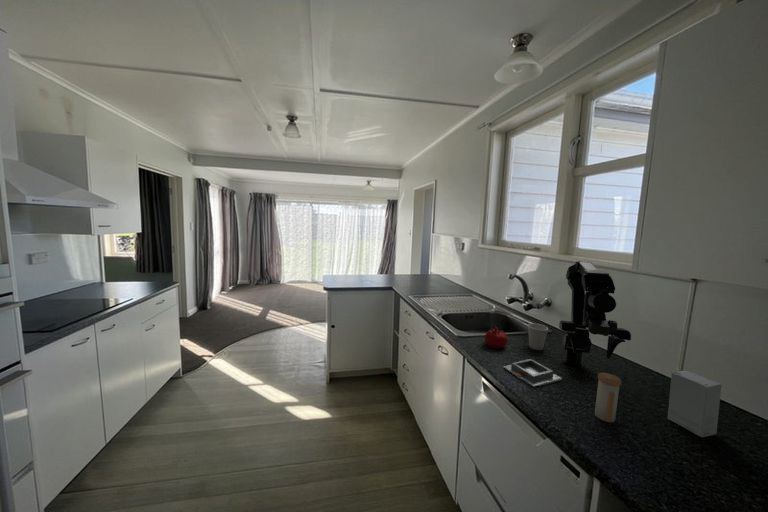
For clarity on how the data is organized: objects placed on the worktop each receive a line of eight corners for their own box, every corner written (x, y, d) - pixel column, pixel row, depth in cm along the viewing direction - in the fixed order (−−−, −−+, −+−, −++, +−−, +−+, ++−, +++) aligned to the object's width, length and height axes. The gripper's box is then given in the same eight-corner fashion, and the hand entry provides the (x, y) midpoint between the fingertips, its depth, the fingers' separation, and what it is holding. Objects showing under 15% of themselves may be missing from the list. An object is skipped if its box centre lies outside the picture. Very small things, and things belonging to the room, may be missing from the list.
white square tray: (529, 362, 117) (530, 355, 117) (561, 380, 104) (562, 373, 104) (503, 368, 112) (503, 361, 111) (533, 387, 99) (534, 380, 99)
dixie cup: (550, 350, 128) (552, 329, 127) (535, 352, 126) (537, 330, 125) (536, 342, 136) (538, 322, 135) (522, 344, 134) (523, 323, 133)
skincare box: (716, 435, 78) (725, 385, 76) (700, 438, 77) (709, 387, 75) (679, 414, 86) (686, 368, 84) (664, 417, 85) (671, 371, 83)
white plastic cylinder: (590, 408, 88) (595, 371, 87) (611, 413, 86) (616, 374, 85) (597, 421, 83) (602, 381, 81) (620, 426, 81) (625, 385, 79)
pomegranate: (510, 351, 127) (512, 331, 126) (488, 350, 127) (490, 330, 126) (501, 341, 137) (503, 323, 136) (481, 340, 137) (482, 322, 136)
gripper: (566, 307, 91) (563, 356, 91) (640, 316, 84) (637, 369, 84) (560, 304, 102) (557, 347, 101) (625, 311, 94) (622, 358, 94)
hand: (591, 355), depth 95 cm, fingers open, 9 cm apart
